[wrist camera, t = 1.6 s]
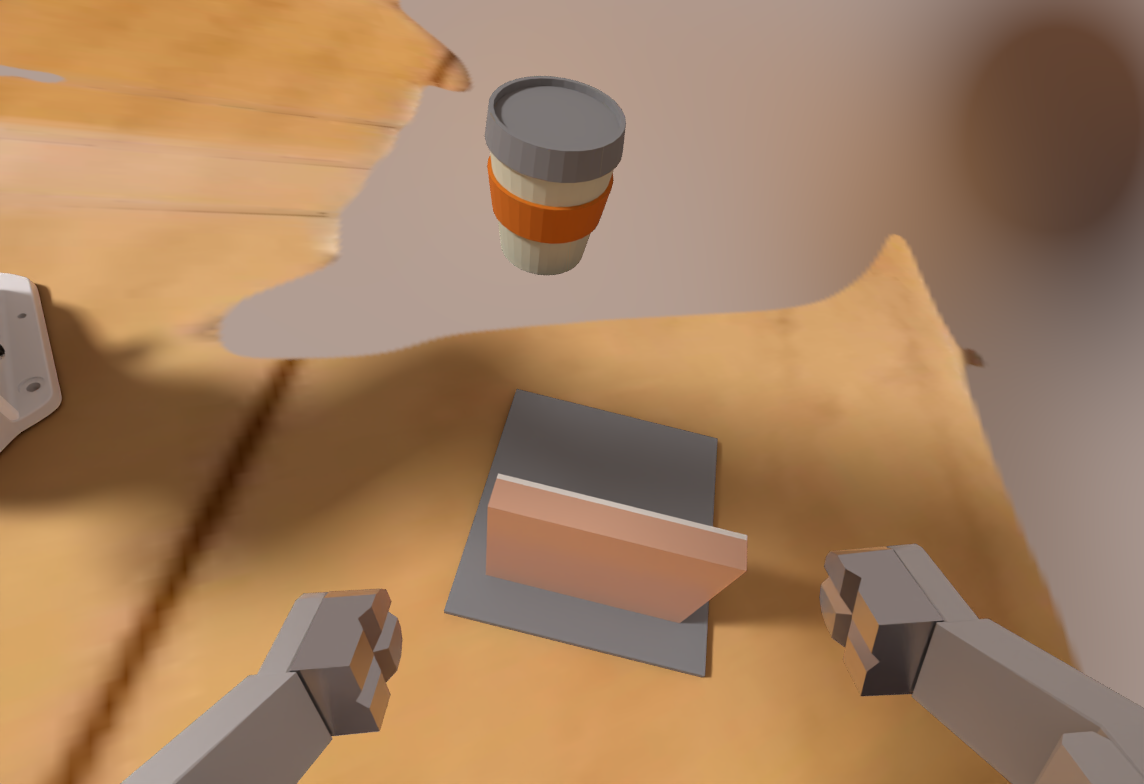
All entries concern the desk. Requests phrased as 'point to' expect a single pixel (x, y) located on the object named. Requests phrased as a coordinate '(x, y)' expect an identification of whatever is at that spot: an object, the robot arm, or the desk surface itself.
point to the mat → (606, 471)
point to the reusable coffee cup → (550, 167)
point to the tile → (607, 550)
